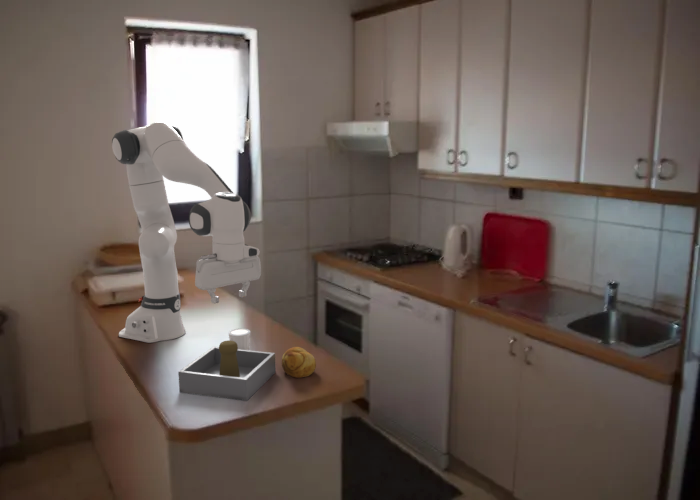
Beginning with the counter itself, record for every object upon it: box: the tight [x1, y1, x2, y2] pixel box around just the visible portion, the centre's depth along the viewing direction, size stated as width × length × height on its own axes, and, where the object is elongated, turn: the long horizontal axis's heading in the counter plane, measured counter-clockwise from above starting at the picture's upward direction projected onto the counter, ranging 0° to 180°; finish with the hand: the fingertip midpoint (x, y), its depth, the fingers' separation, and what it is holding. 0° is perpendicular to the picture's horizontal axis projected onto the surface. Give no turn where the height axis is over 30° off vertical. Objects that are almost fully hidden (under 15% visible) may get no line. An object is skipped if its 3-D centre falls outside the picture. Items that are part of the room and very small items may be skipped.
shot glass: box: [228, 328, 251, 350], centre depth 199 cm, size 7×7×7 cm
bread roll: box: [281, 346, 317, 379], centre depth 184 cm, size 13×10×8 cm
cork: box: [218, 339, 240, 377], centre depth 176 cm, size 6×6×11 cm
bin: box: [178, 346, 276, 402], centre depth 177 cm, size 20×20×6 cm
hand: (229, 299), depth 176 cm, fingers open, 8 cm apart
